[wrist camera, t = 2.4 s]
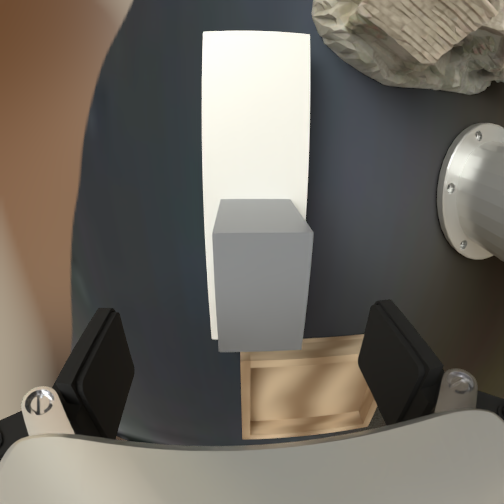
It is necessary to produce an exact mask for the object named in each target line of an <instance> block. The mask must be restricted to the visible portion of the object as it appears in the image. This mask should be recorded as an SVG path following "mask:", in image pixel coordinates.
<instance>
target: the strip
mask: <svg viewBox="0 0 504 504" xmlns="http://www.w3.org/2000/svg"><path fill="white" fill-rule="evenodd" d="M309 135H310V34H300V33H288V32H271V31H211V32H203V54H202V165H203V200H204V225H205V246H206V264H207V280H208V295H209V309H210V322H211V334H212V339H218V331H217V316H216V300H215V283H214V263H213V241H212V232H213V228H214V224H215V220H216V216H217V212H218V208H219V204H220V200H221V199H290V200H291V201H292V202H293V204H294V205H295V207H296V208H297V209H298V211H299V212H300V214H301V215H302V217H303V218H304V219H305V221H306V206H307V187H308V165H309Z"/></svg>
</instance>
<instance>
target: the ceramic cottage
mask: <svg viewBox="0 0 504 504" xmlns="http://www.w3.org/2000/svg"><path fill="white" fill-rule="evenodd" d="M311 14H312V15H313V16H312V18H313V21H314V23H315V26H316V28H317V31H318V33H319V35H320V36H321V37H322V38H323V41H324V44H326V45H327V46H328V47H329V48H330V49H331V50H332V51H333V52H335V53H336V54H337V55H338V56H339V57H340V58H341V59H342V60H343V61H345V62H346V63H348V64H349V65H351V66H352V67H354V68H355V69H357V70H358V71H360V72H362V73H363V74H365V75H366V76H369V77H371V78H372V79H375V80H376V81H378V82H380V83H381V84H384V85H386V86H396V87H406V88H423V89H433V90H443V91H450V92H458V93H463V94H468V95H472V94H478V93H480V92H482V91H484V90H485V89H486V88H487V87H488V86H490V84H491V81H493V80H495V81H496V82H504V0H313V9H312V13H311Z"/></svg>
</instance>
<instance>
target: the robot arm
mask: <svg viewBox="0 0 504 504" xmlns="http://www.w3.org/2000/svg"><path fill="white" fill-rule="evenodd" d="M437 208H438V217H439V221H440V225H441V229H442V231H443V233H444V235H445V238H446V239H447V241H448V242H449V244H450V245H451V246H452V247H453V248H454V249H455V250H456V251H458V252H459V253H460V254H462V255H463V256H465V257H467V258H470V259H474V260H482V259H486V258H489V257H491V256H493V255H494V256H496V257H497V258H499V259H500V260H502V261H503V262H504V128H503V127H501V126H499V125H496V124H492V123H477V124H473V125H471V126H469V127H468V128H466V129H464V130H463V131H462V132H461V133H460V134H459V135H458V136H457V137H456V138H455V140H454V141H453V143H452V144H451V146H450V147H449V149H448V151H447V154H446V156H445V158H444V160H443V164H442V167H441V171H440V174H439V181H438V187H437ZM358 366H359V368H360V370H361V372H362V374H363V377H364V379H365V381H366V383H367V385H368V387H369V389H370V391H371V393H372V395H373V397H374V399H375V402H376V404H377V406H378V408H379V410H380V412H381V414H382V416H383V419H384V421H385V423H386V425H387V426H383V427H379V428H374V429H370V430H365V431H360V432H355V433H350V434H345V435H339V436H333V437H327V438H320V439H313V440H305V441H297V442H288V443H277V444H264V445H246V446H184V445H166V444H153V443H142V442H132V441H122V440H115V439H116V435H117V431H118V428H119V424H120V420H121V417H122V413H123V410H124V406H125V403H126V400H127V396H128V393H129V390H130V386H131V383H132V380H133V377H134V365H133V362H132V358H131V355H130V351H129V348H128V344H127V341H126V337H125V333H124V329H123V326H122V322H121V318H120V314H119V313H118V312H115V310H114V309H113V308H98V310H97V311H96V313H95V314H94V316H93V318H92V319H91V321H90V322H89V324H88V326H87V327H86V329H85V331H84V332H83V334H82V336H81V337H80V339H79V341H78V342H77V344H76V346H75V347H74V349H73V351H72V352H71V354H70V356H69V358H68V360H67V361H66V363H65V365H64V367H63V369H62V370H61V372H60V374H59V376H58V378H57V380H56V382H55V383H54V385H53V387H52V388H50V387H47V386H41V387H36V388H34V389H32V390H30V391H29V392H27V393H26V394H25V396H24V397H23V399H22V402H21V409H22V411H20V412H18V413H16V414H14V415H11V416H9V417H7V418H5V419H2V420H0V504H504V399H502V398H499V397H496V396H493V395H490V394H487V393H484V392H481V391H478V390H477V389H478V386H477V382H476V380H475V378H474V377H473V376H472V375H471V374H470V373H468V372H467V371H465V370H462V369H450V370H448V371H446V372H444V370H443V369H442V368H443V366H444V365H443V364H442V363H441V361H440V360H439V359H438V358H437V356H436V355H435V354H434V352H433V351H432V350H431V348H430V347H429V346H428V345H427V343H426V342H425V341H424V339H423V338H422V337H421V336H420V334H419V333H418V332H417V331H416V329H415V328H414V327H413V326H412V324H411V323H410V322H409V321H408V320H407V318H406V317H405V316H404V315H403V313H402V312H401V311H400V310H399V309H398V307H397V306H396V305H395V304H394V303H393V301H391V300H381V301H376V302H375V304H374V305H372V306H371V308H370V313H369V317H368V321H367V325H366V330H365V334H364V338H363V341H362V345H361V349H360V353H359V356H358Z"/></svg>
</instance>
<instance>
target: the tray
mask: <svg viewBox="0 0 504 504" xmlns="http://www.w3.org/2000/svg"><path fill="white" fill-rule="evenodd" d="M363 338H364V334H360V335H350V336H338V337H324V338H309V339H303V341H302V349H301V350H288V351H261V352H240V364H241V404H242V438H243V439H267V438H284V437H296V436H307V435H316V434H324V433H331V432H338V431H345V430H351V429H357V428H362V427H368V425H369V423H370V421H371V419H372V416H373V414H374V412H375V410H376V408H377V404H376V402H375V399H374V397H373V395H372V393H371V391H370V389H369V387H368V385H367V383H366V381H365V379H364V377H363V374H362V372H361V370H360V368H359V366H358V356H359V353H360V349H361V345H362V341H363Z"/></svg>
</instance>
